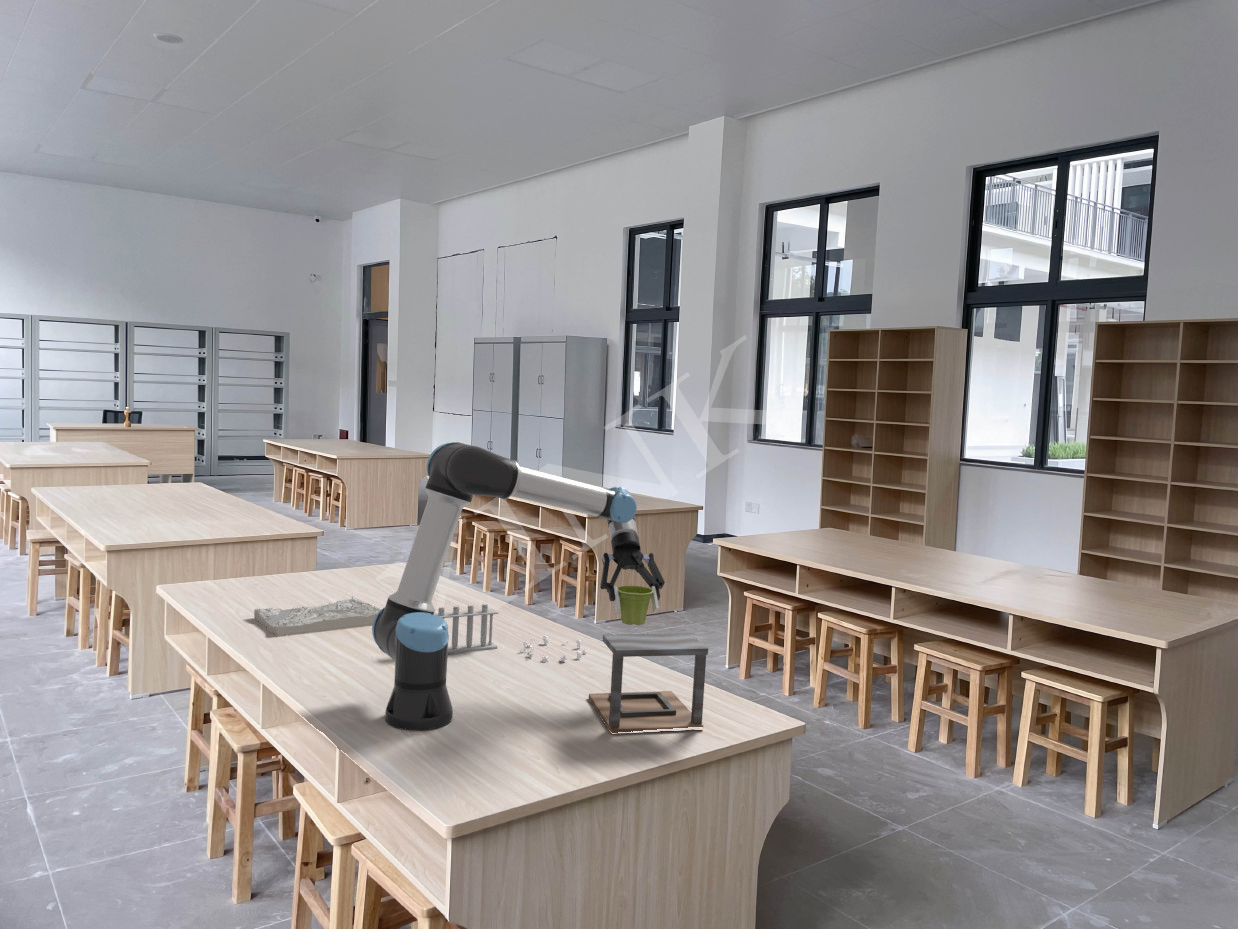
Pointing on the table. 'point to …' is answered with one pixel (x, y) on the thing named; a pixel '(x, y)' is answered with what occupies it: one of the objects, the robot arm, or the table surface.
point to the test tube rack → (470, 628)
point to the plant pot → (634, 604)
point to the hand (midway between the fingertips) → (637, 611)
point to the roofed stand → (650, 706)
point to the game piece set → (545, 638)
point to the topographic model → (317, 617)
